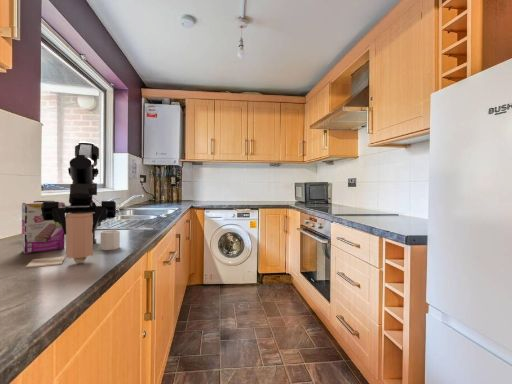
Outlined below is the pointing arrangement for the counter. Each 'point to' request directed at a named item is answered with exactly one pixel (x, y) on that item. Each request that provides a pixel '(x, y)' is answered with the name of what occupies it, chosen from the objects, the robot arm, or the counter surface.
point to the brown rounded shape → (79, 234)
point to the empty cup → (110, 239)
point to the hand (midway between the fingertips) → (79, 233)
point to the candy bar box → (39, 230)
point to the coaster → (46, 262)
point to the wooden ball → (80, 260)
